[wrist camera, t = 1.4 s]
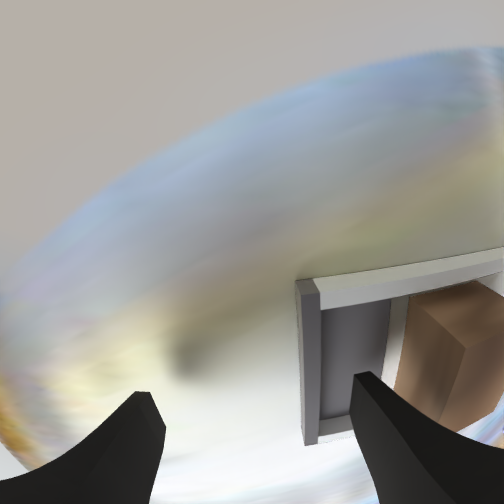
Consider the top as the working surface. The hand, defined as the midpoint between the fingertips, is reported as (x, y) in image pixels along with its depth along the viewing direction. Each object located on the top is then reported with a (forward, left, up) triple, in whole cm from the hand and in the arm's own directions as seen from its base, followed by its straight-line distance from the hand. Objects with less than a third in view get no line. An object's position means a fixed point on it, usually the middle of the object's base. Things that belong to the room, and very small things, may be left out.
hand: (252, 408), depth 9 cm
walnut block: (-9, 0, -2) cm, 9 cm away
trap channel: (-8, 0, -2) cm, 8 cm away
